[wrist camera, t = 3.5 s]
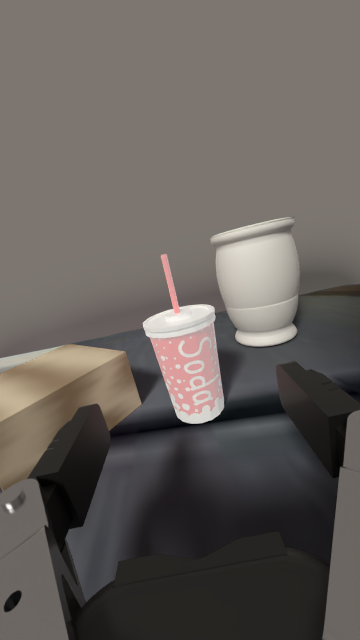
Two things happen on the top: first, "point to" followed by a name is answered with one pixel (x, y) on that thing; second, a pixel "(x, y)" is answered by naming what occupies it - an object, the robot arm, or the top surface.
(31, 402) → the wooden riser
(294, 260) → the jar
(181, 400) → the beverage cup
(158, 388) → the top surface
